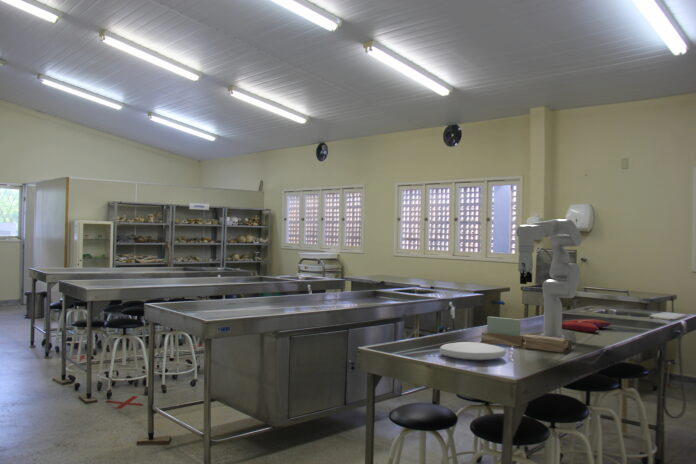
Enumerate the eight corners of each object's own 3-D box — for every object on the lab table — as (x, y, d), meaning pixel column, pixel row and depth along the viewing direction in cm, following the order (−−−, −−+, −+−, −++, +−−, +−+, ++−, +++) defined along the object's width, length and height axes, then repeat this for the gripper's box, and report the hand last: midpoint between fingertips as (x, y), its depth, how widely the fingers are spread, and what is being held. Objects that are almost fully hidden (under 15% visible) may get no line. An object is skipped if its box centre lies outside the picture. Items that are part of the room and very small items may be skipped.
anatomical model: (611, 332, 328) (561, 328, 347) (611, 320, 328) (561, 317, 347) (598, 333, 304) (545, 329, 323) (598, 320, 305) (545, 317, 324)
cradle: (486, 340, 275) (486, 330, 275) (525, 345, 264) (526, 335, 264) (480, 343, 267) (480, 333, 267) (520, 348, 256) (520, 337, 256)
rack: (529, 345, 265) (529, 332, 265) (571, 350, 254) (571, 336, 254) (521, 349, 253) (521, 335, 254) (565, 355, 242) (566, 340, 243)
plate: (428, 345, 233) (458, 339, 253) (429, 360, 233) (459, 352, 253) (486, 348, 215) (514, 341, 235) (487, 365, 214) (515, 355, 234)
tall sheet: (488, 339, 271) (488, 316, 271) (519, 343, 262) (520, 319, 262) (486, 340, 269) (487, 316, 269) (518, 344, 260) (519, 320, 260)
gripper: (523, 248, 279) (523, 281, 279) (513, 250, 264) (513, 284, 264) (538, 249, 274) (538, 282, 274) (528, 250, 260) (528, 285, 260)
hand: (526, 283), depth 269 cm, fingers open, 9 cm apart
